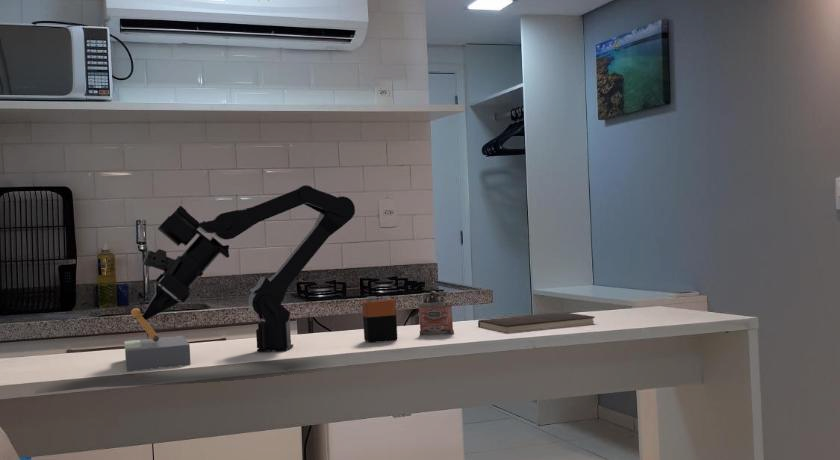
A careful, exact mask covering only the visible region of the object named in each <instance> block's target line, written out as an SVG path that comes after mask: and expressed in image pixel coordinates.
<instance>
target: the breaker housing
mask: <svg viewBox="0 0 840 460" xmlns="http://www.w3.org/2000/svg"><path fill="white" fill-rule="evenodd" d="M190 348H191V347H190V343H189V342H188V341H187V339H186V338H185V337H184V335H177V336H167V337H159V340H158V341H157V342H155V341H153V339H152V338H146V339H145V338H144V339H134V340H133V339H132V340H124V354H125V356H124V357H125V369H126V372H134V371H135V370H136V371H143V369H145V370H152V369H151V368H154V369H160V368H159V367H164V368H170V367H169V366H173V367H179V365H182V366H189V365H188V364H191V350H190Z"/></svg>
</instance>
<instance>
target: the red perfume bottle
mask: <svg viewBox="0 0 840 460" xmlns="http://www.w3.org/2000/svg"><path fill="white" fill-rule="evenodd" d="M449 295H450V293H449V291H435V290H432V291H429V292H423V293H422V299H423V301H421V302H418V303H417V306H418V312H419V313H418V314H419V315H418V316H419V329H420V330H419V336H448V335H450V336H451V335H454V334H455V331H454V330H455V329H454V325H453V324H454V322H453V307H452V305H453V301H451V300H445V301H444V299H445V298H449Z"/></svg>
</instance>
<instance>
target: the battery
mask: <svg viewBox="0 0 840 460" xmlns="http://www.w3.org/2000/svg"><path fill="white" fill-rule="evenodd" d="M361 304H362V320H363V336H364V337H363V338H364V341H365V342H367V343H370V344H371V343H381V342H391V341H392V342H393V341H397V340H398V325H397V324H398V321H397V306H396V305H397V303H396V300H395V299H393V298H391V297H390V295H386V296H385V295H383V296H382V298H381V299H379V298H378V299H377V296H366V300H363V301H362V303H361Z"/></svg>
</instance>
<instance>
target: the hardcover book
mask: <svg viewBox="0 0 840 460" xmlns="http://www.w3.org/2000/svg"><path fill="white" fill-rule="evenodd" d="M595 318H596V317H595V316H593V315H587V314H579V313H573V312H566V311H558V312H547V313H546V312H545V313H538V314H535V313H534V314H527V315H516V316H515V315H514V316H505V317H497V318H488V319H486V318H485V319H479V320H478V321H477V325H478V326H477V327H478V328H482V329H483V328H484V329H488V330H492V331H497V332H502V333H506V334H509V333H520V332H521V333H522V332H530V331H537V330H538V331H539V330H547V329H548V330H549V329H556V328H558V329H559V328H567V327H568V328H569V327H577V326H585V325H586V326H587V325H594V319H595Z"/></svg>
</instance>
